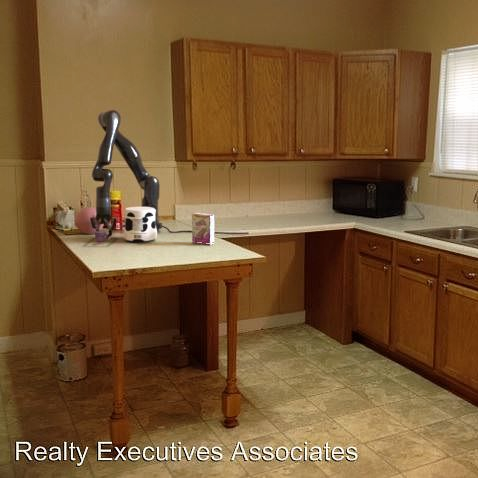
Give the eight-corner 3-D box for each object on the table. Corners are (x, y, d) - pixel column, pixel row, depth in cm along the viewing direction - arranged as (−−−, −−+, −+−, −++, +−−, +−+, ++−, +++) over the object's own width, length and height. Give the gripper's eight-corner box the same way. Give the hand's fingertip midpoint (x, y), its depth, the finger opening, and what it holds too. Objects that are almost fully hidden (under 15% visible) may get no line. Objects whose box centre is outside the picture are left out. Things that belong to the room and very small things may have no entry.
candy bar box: (191, 243, 326) (191, 213, 323) (196, 242, 331) (196, 212, 328) (210, 245, 323) (210, 215, 320) (214, 244, 327) (214, 214, 324)
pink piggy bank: (89, 239, 329) (88, 211, 326) (70, 234, 341) (69, 207, 338) (114, 235, 341) (113, 208, 338) (95, 230, 353) (94, 204, 350)
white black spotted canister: (147, 237, 340) (146, 205, 336) (163, 242, 328) (162, 209, 324) (118, 240, 328) (117, 207, 324) (133, 246, 316) (132, 211, 312)
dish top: (110, 237, 332) (110, 232, 332) (108, 239, 327) (108, 234, 326) (100, 237, 332) (100, 232, 332) (97, 239, 327) (97, 234, 326)
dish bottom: (107, 240, 325) (107, 235, 325) (104, 242, 320) (104, 237, 319) (97, 240, 325) (96, 235, 324) (94, 242, 319) (93, 237, 319)
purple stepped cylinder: (107, 235, 325) (107, 230, 324) (104, 237, 319) (104, 232, 319) (96, 235, 324) (96, 230, 324) (93, 237, 319) (93, 232, 318)
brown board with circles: (117, 238, 334) (117, 237, 333) (107, 246, 312) (106, 245, 312) (95, 238, 333) (95, 237, 332) (83, 246, 311) (83, 245, 311)
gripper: (87, 206, 322) (88, 237, 325) (115, 206, 323) (116, 237, 326) (91, 204, 329) (92, 234, 332) (118, 205, 330) (119, 235, 334)
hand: (104, 236), depth 329 cm, fingers closed on dish top, 5 cm apart
